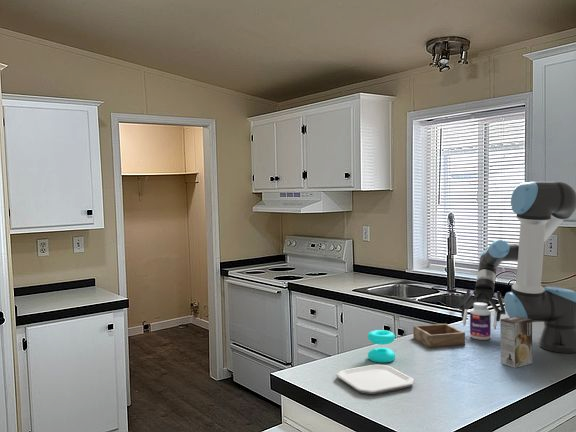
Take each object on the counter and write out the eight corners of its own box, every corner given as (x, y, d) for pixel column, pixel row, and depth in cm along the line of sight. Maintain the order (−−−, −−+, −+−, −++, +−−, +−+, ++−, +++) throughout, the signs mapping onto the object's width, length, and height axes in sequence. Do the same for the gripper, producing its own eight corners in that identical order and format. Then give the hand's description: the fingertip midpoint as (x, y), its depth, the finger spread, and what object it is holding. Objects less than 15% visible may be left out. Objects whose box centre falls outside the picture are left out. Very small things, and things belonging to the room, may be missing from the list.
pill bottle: (469, 339, 216) (469, 305, 215) (470, 334, 223) (470, 301, 223) (490, 341, 213) (490, 306, 212) (490, 336, 220) (490, 302, 220)
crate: (465, 345, 208) (465, 332, 208) (430, 348, 205) (430, 335, 205) (446, 335, 223) (446, 323, 223) (413, 337, 220) (413, 326, 220)
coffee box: (517, 359, 191) (517, 315, 190) (532, 364, 185) (533, 319, 184) (499, 363, 186) (499, 318, 186) (515, 368, 181) (515, 322, 180)
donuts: (399, 335, 189) (373, 337, 187) (399, 362, 189) (373, 364, 187) (388, 328, 198) (363, 330, 196) (388, 354, 199) (364, 356, 197)
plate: (364, 400, 157) (364, 392, 157) (331, 378, 176) (331, 371, 176) (420, 388, 165) (420, 381, 165) (383, 368, 184) (383, 362, 184)
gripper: (515, 289, 225) (511, 333, 212) (458, 285, 236) (451, 327, 224) (514, 279, 220) (509, 323, 207) (456, 275, 232) (448, 317, 219)
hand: (479, 325), depth 215 cm, fingers open, 11 cm apart
